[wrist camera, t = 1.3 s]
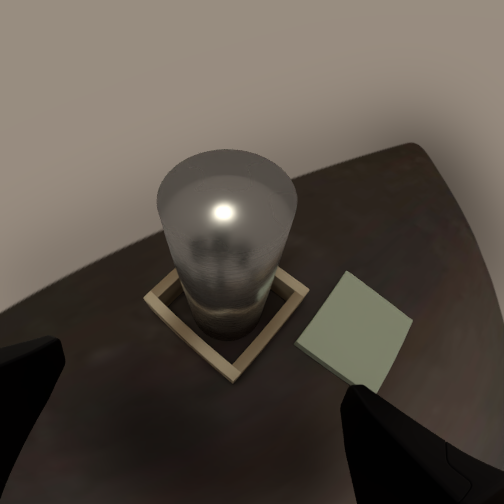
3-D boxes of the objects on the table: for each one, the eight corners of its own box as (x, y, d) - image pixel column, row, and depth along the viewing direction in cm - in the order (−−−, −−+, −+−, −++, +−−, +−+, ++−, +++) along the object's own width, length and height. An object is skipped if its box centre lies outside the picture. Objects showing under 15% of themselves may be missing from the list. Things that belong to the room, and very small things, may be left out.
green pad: (406, 324, 22) (412, 320, 21) (368, 397, 18) (374, 397, 17) (342, 275, 24) (346, 270, 23) (293, 344, 20) (296, 341, 19)
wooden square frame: (301, 301, 22) (309, 289, 20) (232, 383, 18) (233, 381, 16) (222, 242, 25) (222, 225, 23) (151, 309, 21) (143, 298, 19)
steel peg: (275, 304, 22) (321, 191, 11) (230, 355, 20) (232, 283, 8) (224, 264, 24) (224, 135, 13) (178, 309, 21) (130, 197, 10)
